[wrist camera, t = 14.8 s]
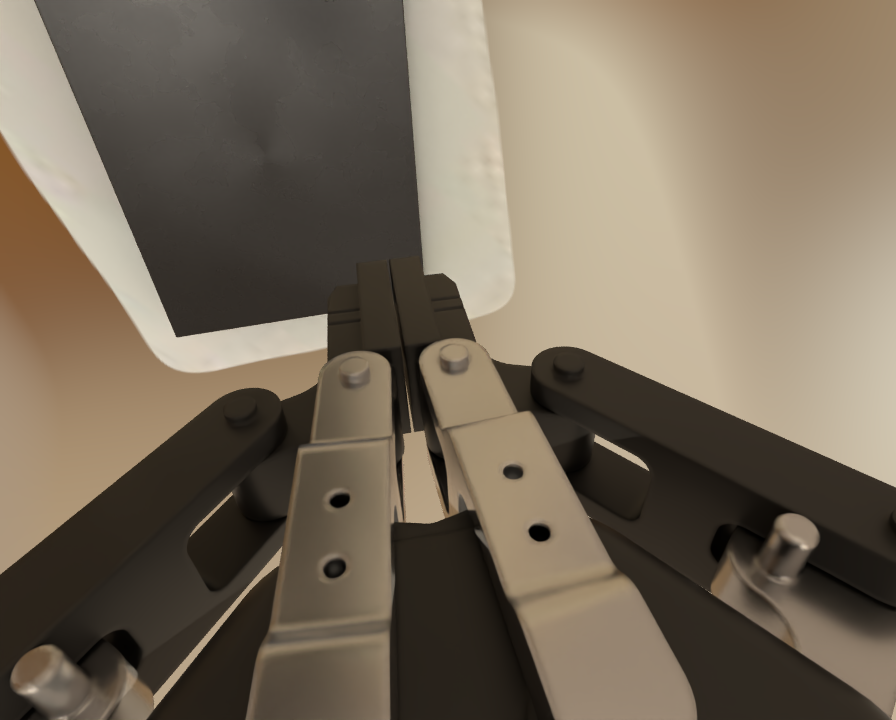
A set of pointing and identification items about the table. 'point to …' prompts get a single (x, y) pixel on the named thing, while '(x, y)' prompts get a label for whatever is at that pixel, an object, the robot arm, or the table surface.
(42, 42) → the table surface
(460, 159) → the table surface
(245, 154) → the laptop screen
